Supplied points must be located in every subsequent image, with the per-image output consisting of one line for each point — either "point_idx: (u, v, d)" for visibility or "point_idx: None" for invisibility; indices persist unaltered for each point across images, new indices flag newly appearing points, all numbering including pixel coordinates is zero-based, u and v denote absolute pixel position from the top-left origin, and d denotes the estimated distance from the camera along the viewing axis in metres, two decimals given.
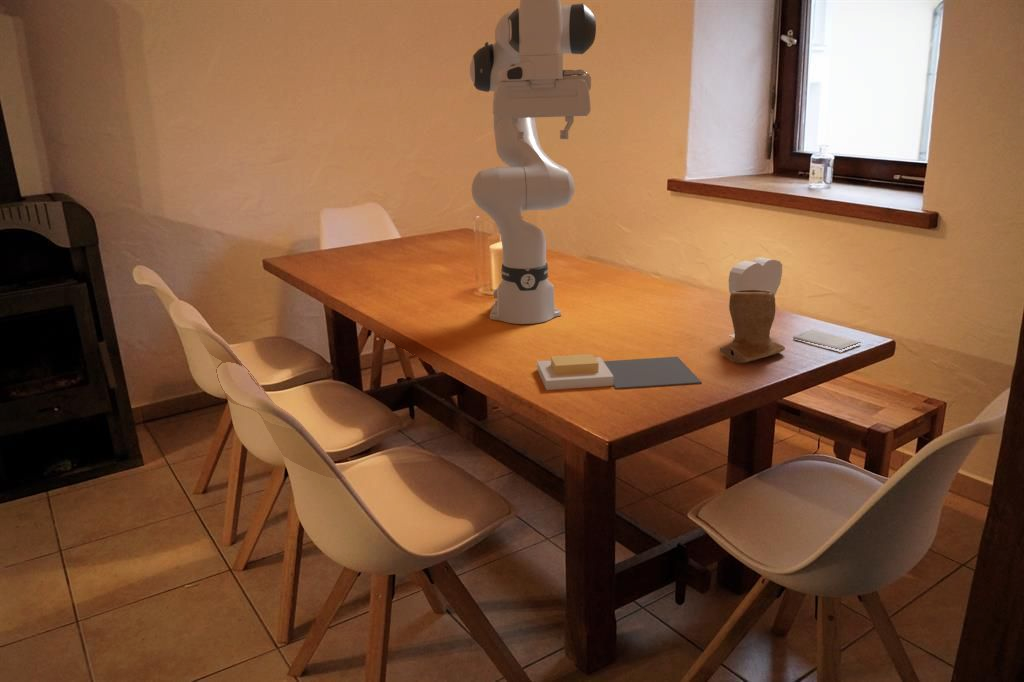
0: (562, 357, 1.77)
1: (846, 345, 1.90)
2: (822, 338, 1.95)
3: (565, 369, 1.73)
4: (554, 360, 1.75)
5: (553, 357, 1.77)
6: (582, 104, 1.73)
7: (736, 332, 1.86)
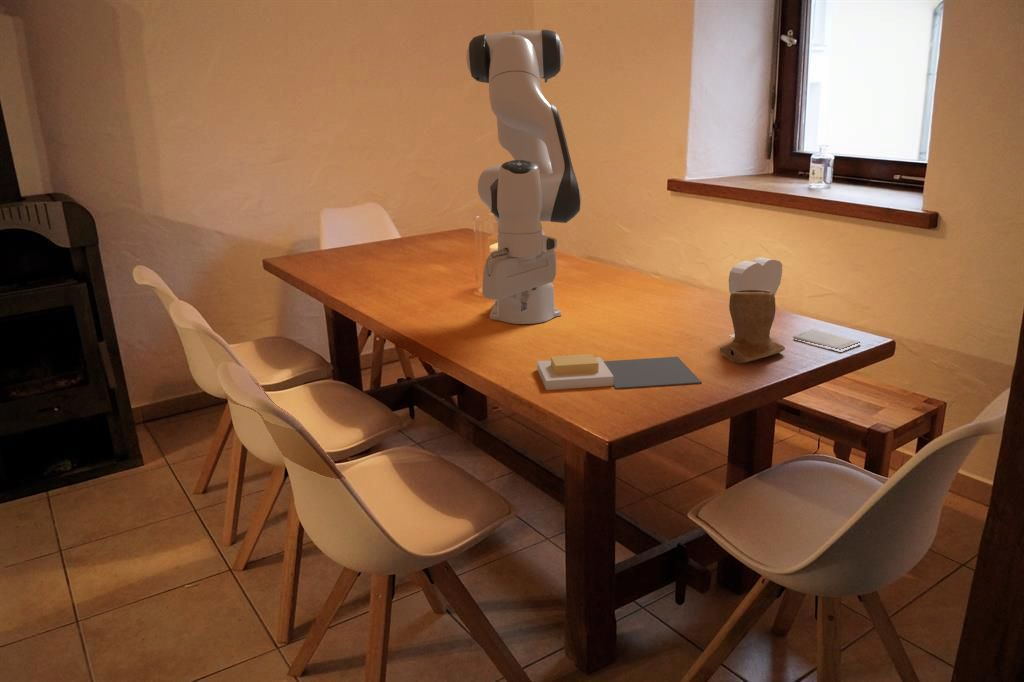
0: (562, 357, 1.77)
1: (846, 345, 1.90)
2: (822, 337, 1.95)
3: (565, 369, 1.73)
4: (554, 360, 1.75)
5: (553, 357, 1.77)
6: None
7: (736, 332, 1.86)
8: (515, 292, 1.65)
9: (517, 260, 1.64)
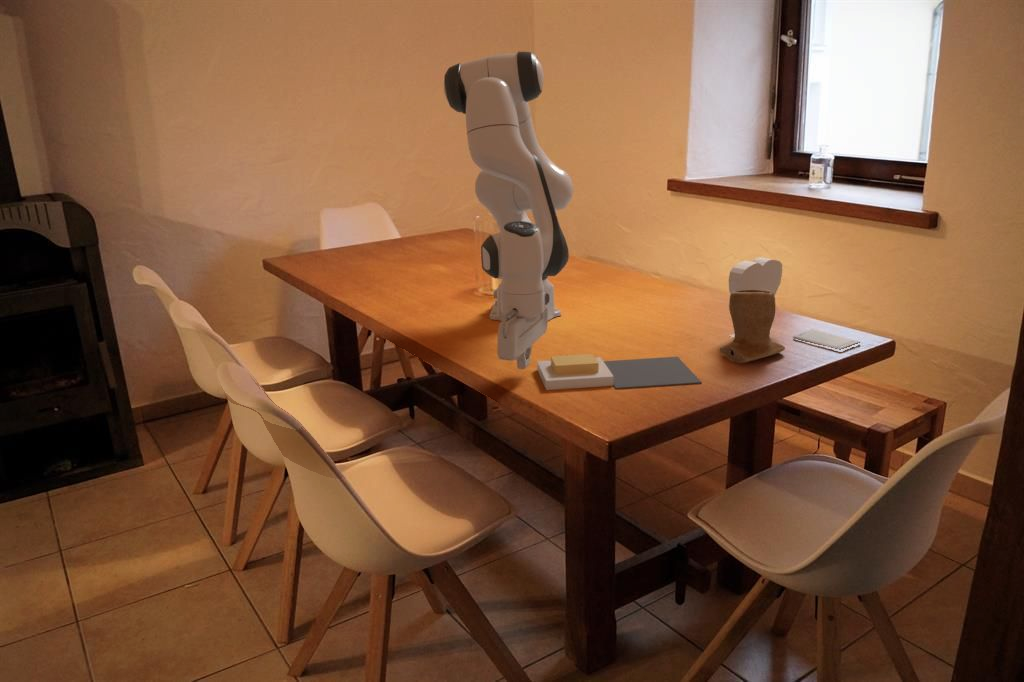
0: (562, 357, 1.77)
1: (846, 345, 1.90)
2: (822, 337, 1.95)
3: (565, 369, 1.73)
4: (554, 360, 1.75)
5: (553, 357, 1.77)
6: None
7: (736, 332, 1.86)
8: (524, 350, 1.69)
9: (525, 319, 1.68)
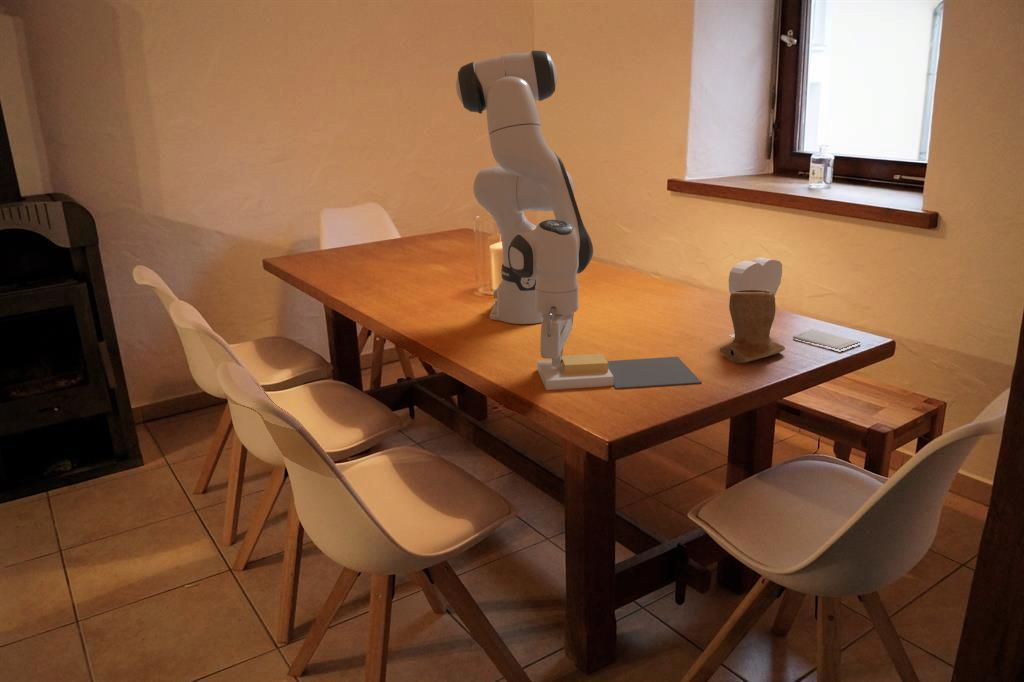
0: (572, 356, 1.77)
1: (846, 345, 1.90)
2: (822, 337, 1.95)
3: (574, 368, 1.73)
4: (564, 359, 1.75)
5: (563, 356, 1.77)
6: None
7: (736, 332, 1.86)
8: (562, 347, 1.70)
9: (563, 317, 1.68)
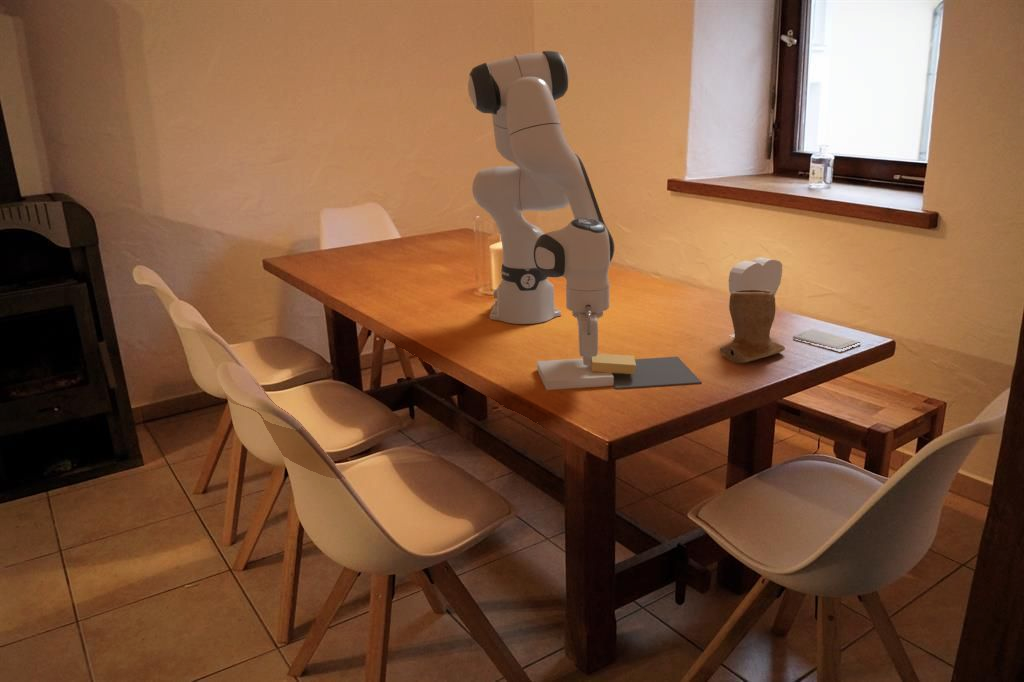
0: (602, 355, 1.77)
1: (846, 345, 1.90)
2: (822, 337, 1.95)
3: (601, 366, 1.73)
4: (593, 357, 1.76)
5: None
6: None
7: (736, 332, 1.86)
8: None
9: (596, 314, 1.69)
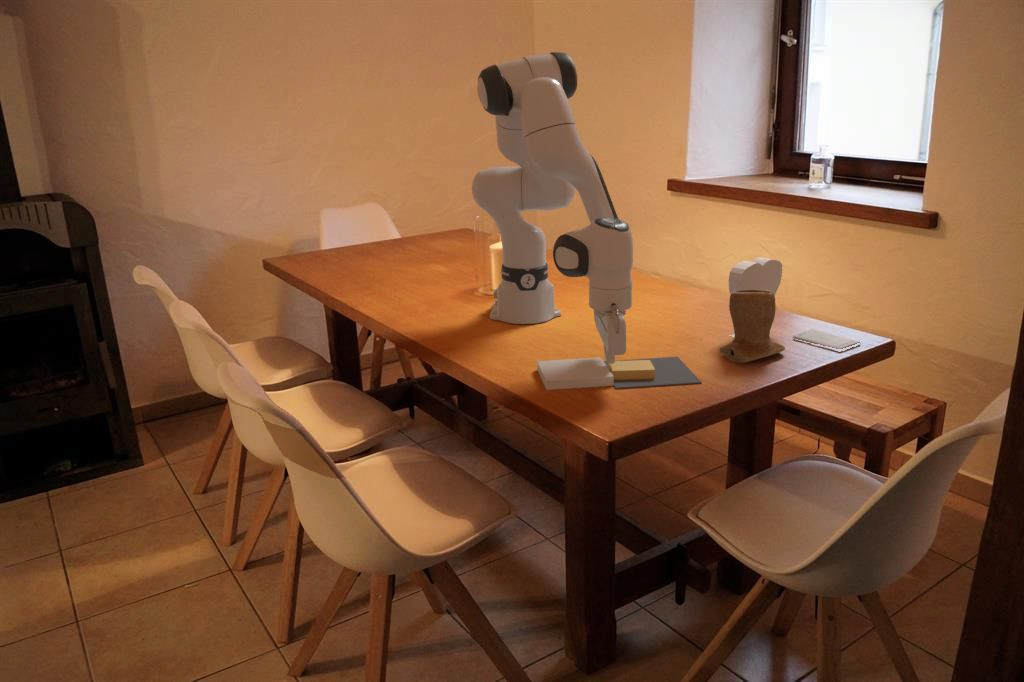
0: (619, 362, 1.78)
1: (845, 345, 1.90)
2: (822, 337, 1.95)
3: (621, 374, 1.74)
4: (611, 365, 1.77)
5: None
6: (607, 342, 1.66)
7: (736, 332, 1.86)
8: None
9: None
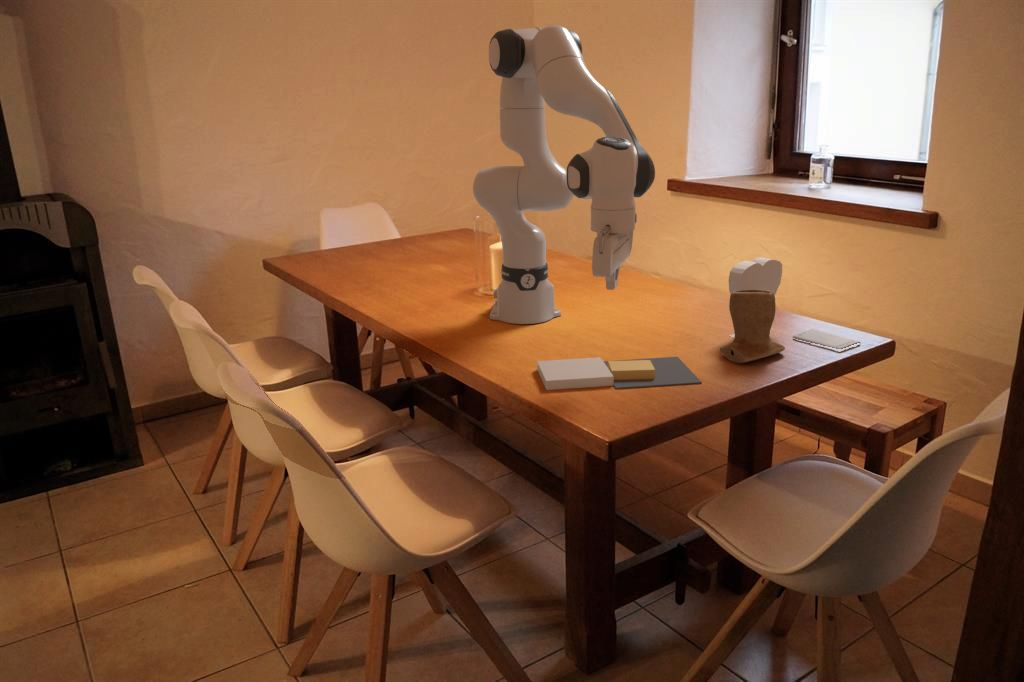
0: (619, 362, 1.78)
1: (845, 345, 1.90)
2: (822, 337, 1.95)
3: (621, 374, 1.74)
4: (611, 365, 1.77)
5: (610, 362, 1.78)
6: None
7: (736, 332, 1.86)
8: (616, 268, 1.66)
9: (617, 236, 1.65)
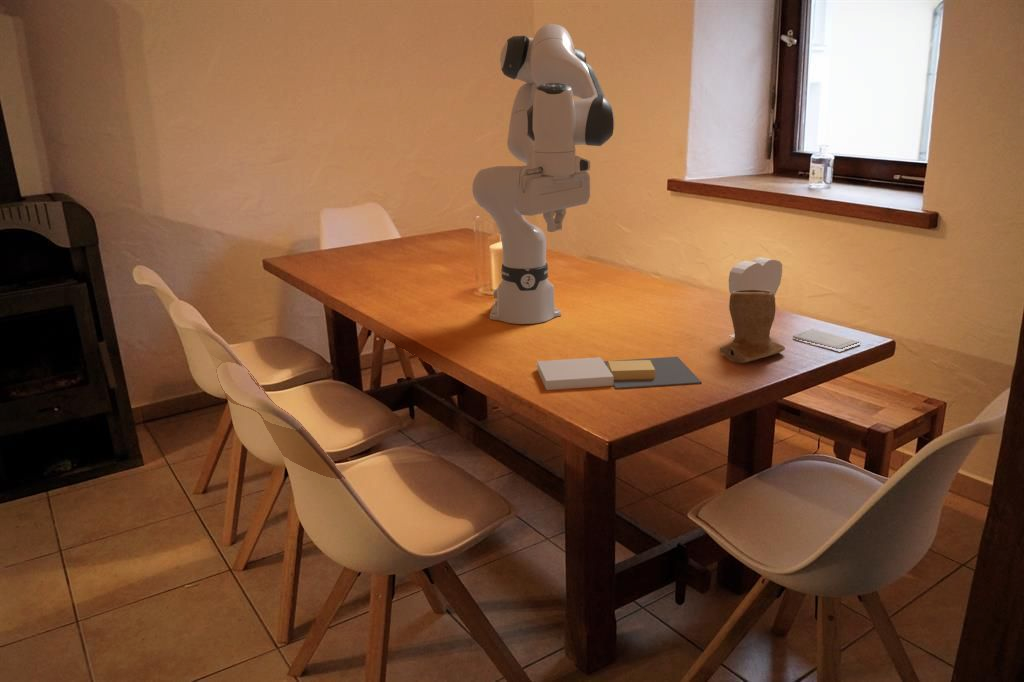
0: (619, 362, 1.78)
1: (845, 345, 1.90)
2: (822, 337, 1.95)
3: (621, 374, 1.74)
4: (611, 365, 1.77)
5: (610, 362, 1.78)
6: None
7: (736, 332, 1.86)
8: (549, 210, 1.73)
9: (551, 179, 1.72)
